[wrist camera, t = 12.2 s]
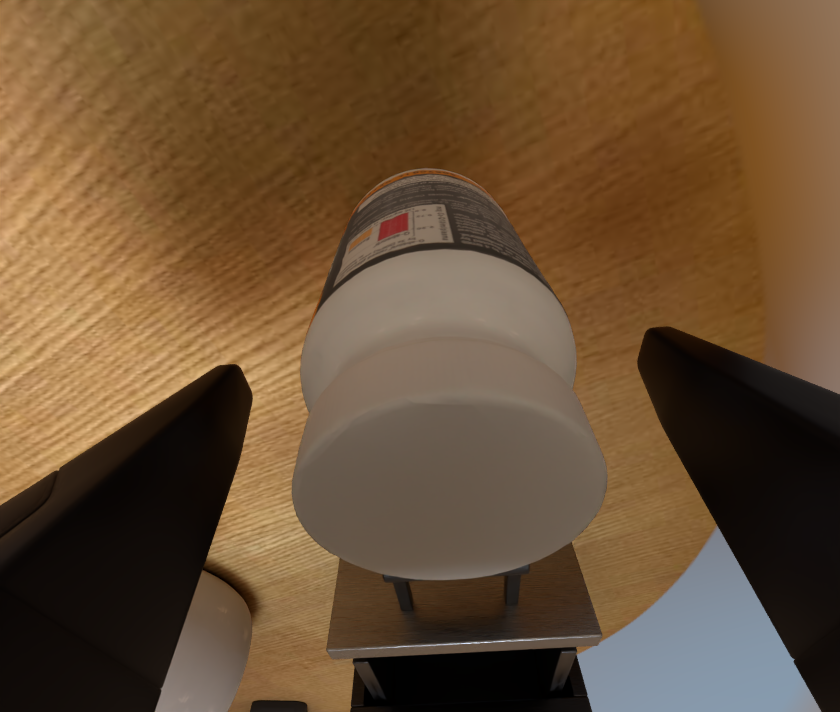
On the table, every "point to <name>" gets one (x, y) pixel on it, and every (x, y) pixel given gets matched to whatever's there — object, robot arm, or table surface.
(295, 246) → the table surface
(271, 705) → the computer mouse
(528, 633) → the drawer
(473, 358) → the pill bottle
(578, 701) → the cabinet
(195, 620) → the teapot
